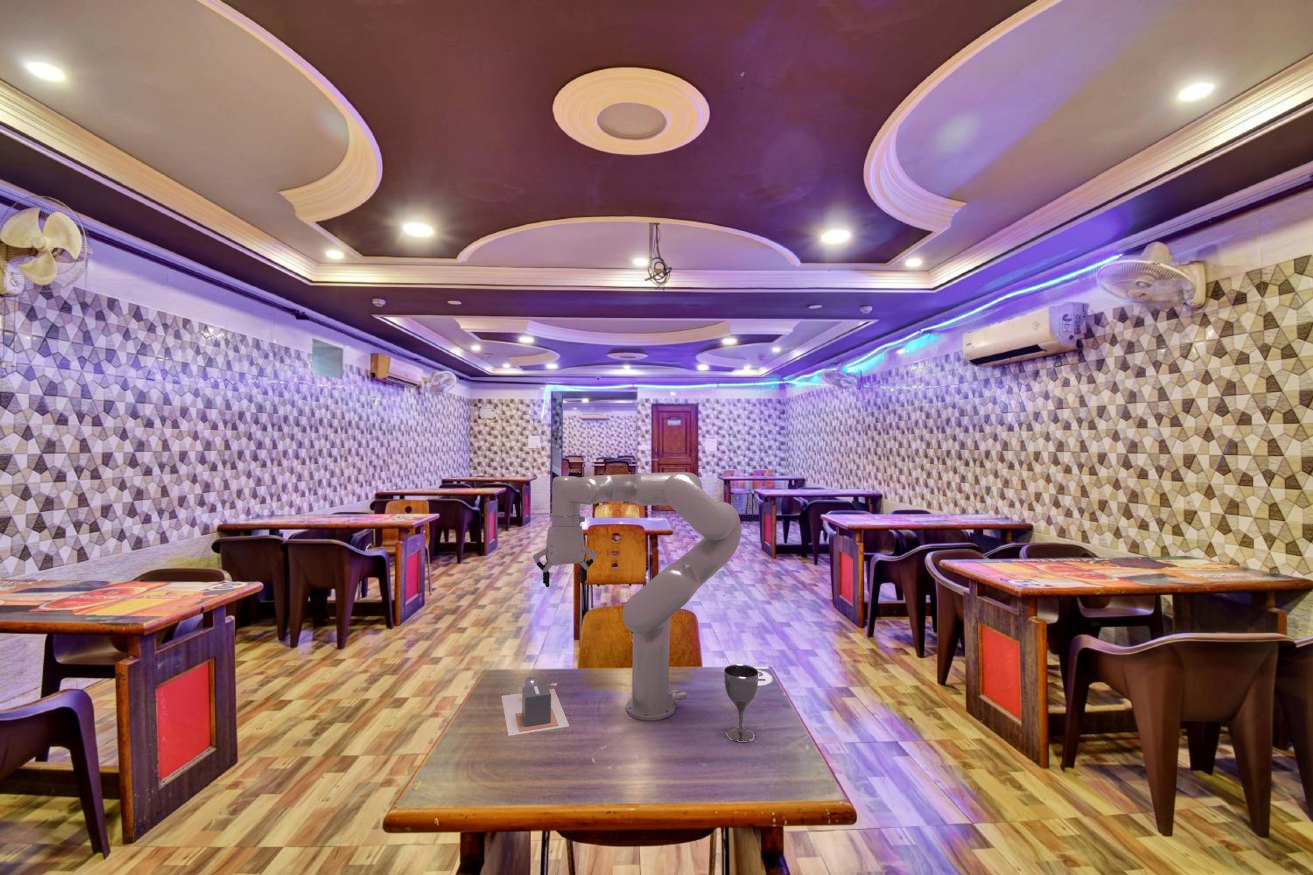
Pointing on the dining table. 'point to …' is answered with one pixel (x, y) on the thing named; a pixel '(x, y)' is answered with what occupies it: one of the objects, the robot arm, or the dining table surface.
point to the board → (515, 719)
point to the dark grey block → (536, 705)
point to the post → (530, 682)
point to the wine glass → (740, 695)
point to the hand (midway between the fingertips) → (564, 584)
